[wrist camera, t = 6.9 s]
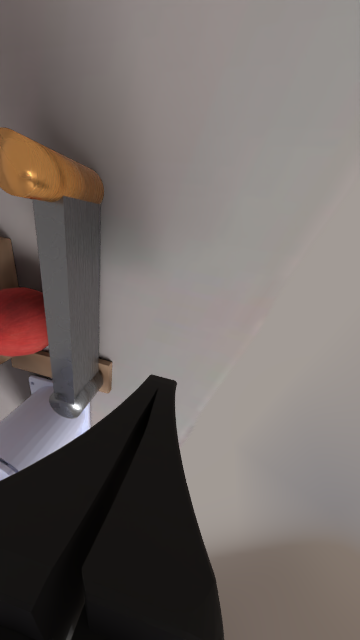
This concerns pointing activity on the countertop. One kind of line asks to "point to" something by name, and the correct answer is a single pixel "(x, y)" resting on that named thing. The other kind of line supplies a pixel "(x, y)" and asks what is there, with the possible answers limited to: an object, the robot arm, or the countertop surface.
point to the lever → (62, 260)
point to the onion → (22, 322)
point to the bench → (3, 277)
